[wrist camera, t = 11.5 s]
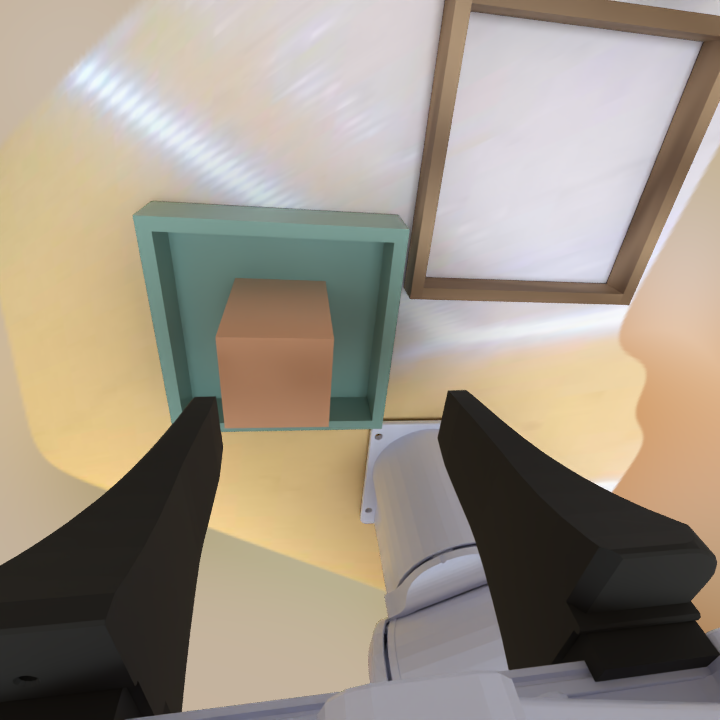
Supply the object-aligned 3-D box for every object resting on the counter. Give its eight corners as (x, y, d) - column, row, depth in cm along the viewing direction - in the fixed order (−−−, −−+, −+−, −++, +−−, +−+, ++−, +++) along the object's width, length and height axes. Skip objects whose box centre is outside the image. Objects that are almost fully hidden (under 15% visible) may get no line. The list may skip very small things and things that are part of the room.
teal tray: (374, 400, 27) (381, 428, 24) (184, 402, 25) (173, 432, 23) (397, 214, 21) (409, 229, 19) (151, 201, 19) (132, 215, 17)
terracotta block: (322, 355, 24) (328, 426, 19) (240, 355, 23) (224, 428, 18) (325, 281, 22) (334, 338, 17) (235, 277, 21) (215, 337, 16)
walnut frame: (612, 293, 25) (629, 304, 23) (403, 287, 23) (409, 299, 22) (723, 25, 18) (755, 20, 17) (446, -13, 16) (459, -21, 15)
